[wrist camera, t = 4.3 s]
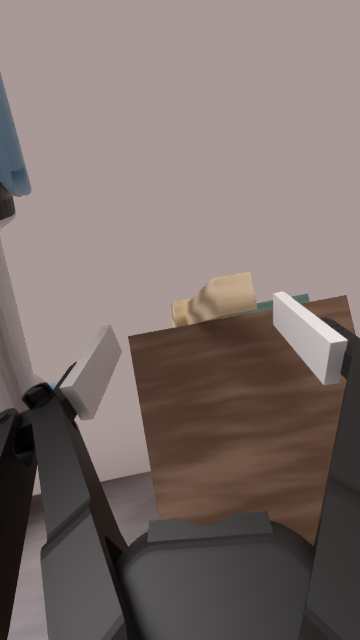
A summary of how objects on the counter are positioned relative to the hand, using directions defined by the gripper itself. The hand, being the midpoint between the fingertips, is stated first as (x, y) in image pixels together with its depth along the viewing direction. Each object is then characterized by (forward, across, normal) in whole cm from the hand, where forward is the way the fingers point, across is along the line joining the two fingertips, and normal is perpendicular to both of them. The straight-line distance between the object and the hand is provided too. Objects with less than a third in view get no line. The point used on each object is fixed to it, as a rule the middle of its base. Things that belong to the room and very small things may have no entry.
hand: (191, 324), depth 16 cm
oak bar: (+8, +1, -5) cm, 10 cm away
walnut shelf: (-1, +4, -32) cm, 32 cm away
